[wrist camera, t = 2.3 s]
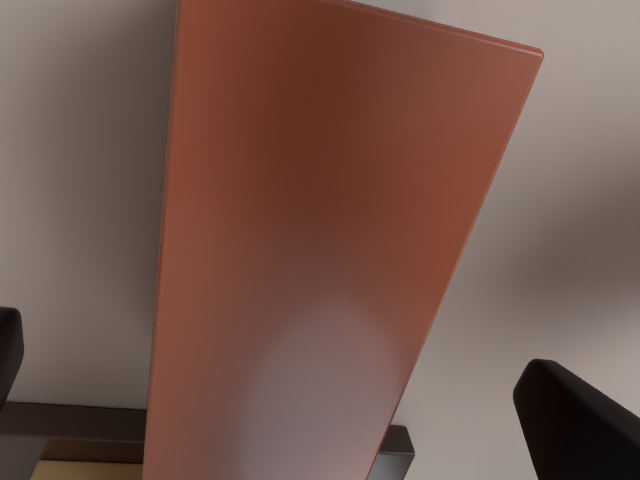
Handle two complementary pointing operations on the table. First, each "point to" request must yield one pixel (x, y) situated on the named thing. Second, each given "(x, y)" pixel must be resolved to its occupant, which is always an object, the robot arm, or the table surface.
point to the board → (121, 439)
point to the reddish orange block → (311, 226)
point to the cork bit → (86, 470)
